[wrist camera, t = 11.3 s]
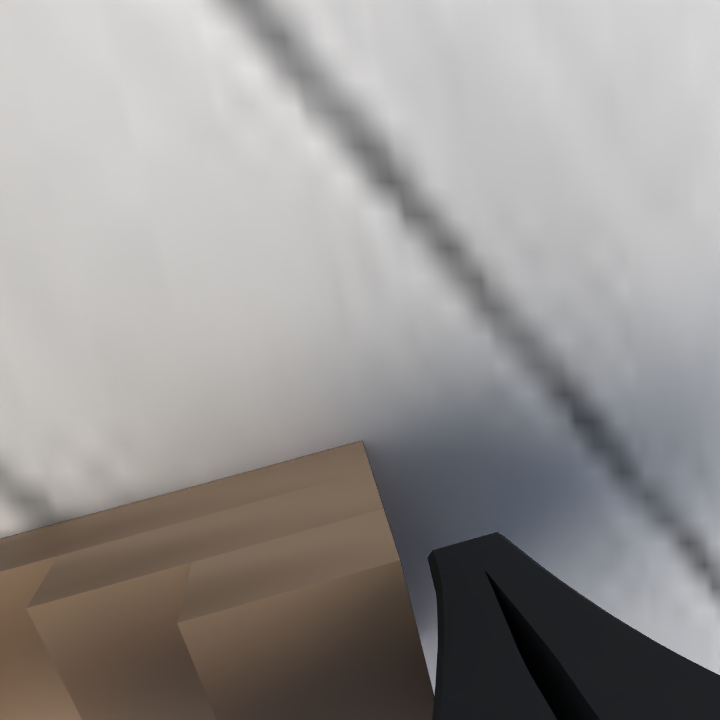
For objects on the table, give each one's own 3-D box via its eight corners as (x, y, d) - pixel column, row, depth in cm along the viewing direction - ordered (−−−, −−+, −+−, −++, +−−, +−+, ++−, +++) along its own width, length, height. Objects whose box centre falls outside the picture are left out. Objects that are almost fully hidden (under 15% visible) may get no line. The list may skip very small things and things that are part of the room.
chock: (412, 639, 13) (465, 820, 9) (53, 744, 13) (-43, 977, 9) (361, 439, 11) (400, 559, 8) (-49, 550, 11) (-216, 735, 7)
